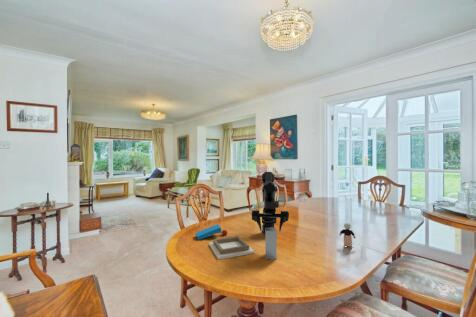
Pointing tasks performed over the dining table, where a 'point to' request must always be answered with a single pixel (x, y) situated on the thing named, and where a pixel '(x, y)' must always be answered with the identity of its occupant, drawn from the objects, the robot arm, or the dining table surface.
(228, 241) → the stand
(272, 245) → the brushed metal pillar
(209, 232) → the lever
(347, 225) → the grandmother figurine
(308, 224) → the dining table surface
